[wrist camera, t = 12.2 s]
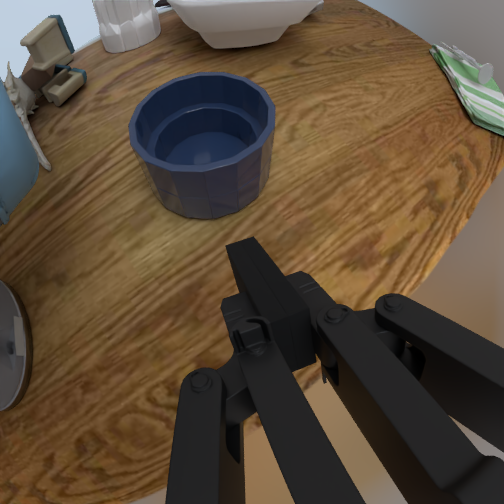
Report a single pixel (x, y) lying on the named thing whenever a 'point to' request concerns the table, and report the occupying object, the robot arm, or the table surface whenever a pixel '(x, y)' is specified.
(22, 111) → the seashell
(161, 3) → the rock
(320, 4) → the cosmetic box
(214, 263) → the table surface
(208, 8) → the bowl
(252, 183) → the glazed bowl
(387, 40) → the table surface
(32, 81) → the wooden block
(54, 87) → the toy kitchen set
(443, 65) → the dish towel
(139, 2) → the decorative vase
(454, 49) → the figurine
